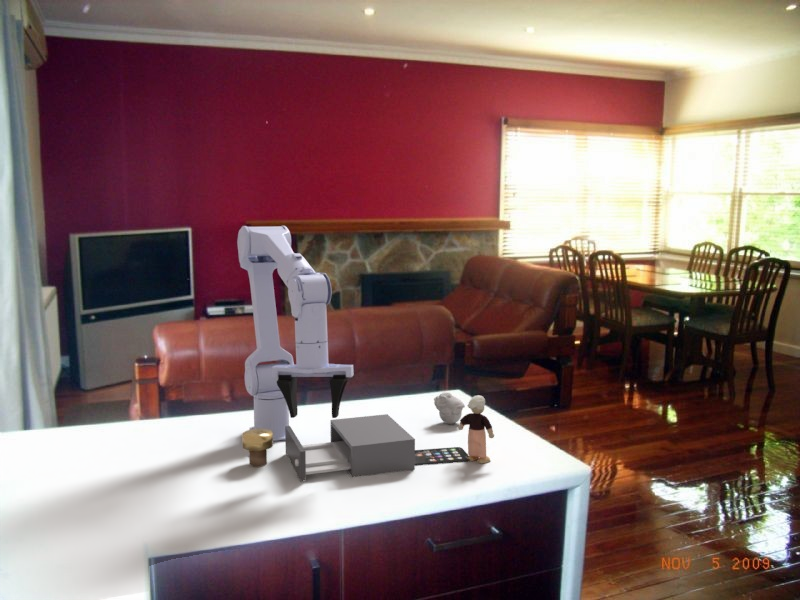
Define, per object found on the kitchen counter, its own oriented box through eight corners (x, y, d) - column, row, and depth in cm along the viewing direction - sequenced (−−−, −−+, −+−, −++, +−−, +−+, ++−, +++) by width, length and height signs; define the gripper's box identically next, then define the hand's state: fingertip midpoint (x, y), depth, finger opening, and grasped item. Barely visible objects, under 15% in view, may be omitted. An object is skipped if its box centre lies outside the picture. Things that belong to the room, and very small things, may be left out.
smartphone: (388, 451, 136) (461, 446, 139) (388, 455, 136) (461, 449, 139) (395, 465, 129) (472, 459, 132) (395, 469, 129) (472, 463, 132)
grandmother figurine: (497, 459, 133) (499, 395, 132) (491, 465, 130) (493, 400, 128) (460, 452, 136) (461, 390, 135) (453, 459, 133) (454, 395, 131)
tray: (283, 453, 135) (282, 426, 134) (343, 446, 139) (343, 420, 138) (297, 481, 121) (297, 452, 120) (365, 473, 125) (365, 444, 125)
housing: (330, 447, 139) (330, 419, 138) (387, 441, 143) (387, 414, 142) (352, 477, 124) (352, 446, 123) (414, 469, 128) (414, 439, 127)
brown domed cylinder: (248, 461, 131) (248, 443, 131) (265, 459, 132) (265, 442, 132) (250, 467, 128) (250, 449, 128) (268, 465, 129) (267, 447, 129)
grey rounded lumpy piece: (435, 418, 159) (436, 388, 158) (466, 420, 157) (466, 390, 156) (431, 426, 153) (431, 395, 152) (463, 428, 151) (463, 397, 150)
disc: (240, 442, 131) (240, 430, 131) (270, 439, 133) (270, 427, 133) (244, 452, 126) (244, 439, 126) (275, 449, 128) (275, 436, 128)
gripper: (265, 345, 120) (268, 421, 121) (346, 344, 118) (349, 422, 119) (277, 339, 127) (280, 412, 128) (354, 338, 125) (357, 412, 126)
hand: (314, 416), depth 124 cm, fingers open, 7 cm apart
